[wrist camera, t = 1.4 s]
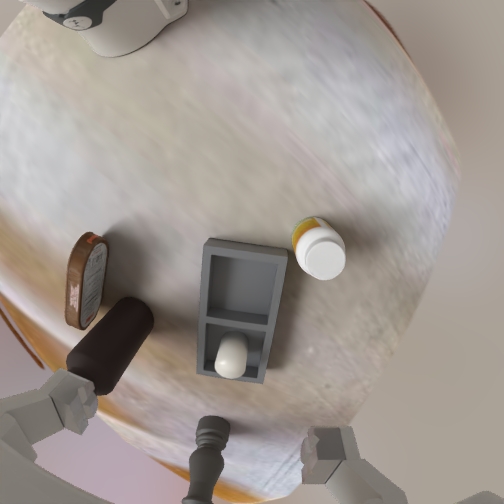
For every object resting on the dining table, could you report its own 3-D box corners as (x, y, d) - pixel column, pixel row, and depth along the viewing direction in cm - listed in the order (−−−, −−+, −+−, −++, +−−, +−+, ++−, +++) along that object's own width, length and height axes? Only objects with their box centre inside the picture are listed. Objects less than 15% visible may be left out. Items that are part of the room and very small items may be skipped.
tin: (99, 225, 37) (65, 240, 29) (116, 232, 38) (84, 249, 29) (88, 308, 42) (61, 333, 34) (103, 316, 42) (77, 342, 34)
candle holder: (208, 411, 47) (180, 527, 23) (236, 424, 47) (220, 538, 23) (193, 425, 48) (165, 530, 24) (220, 437, 49) (201, 541, 25)
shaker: (222, 328, 40) (215, 353, 34) (250, 332, 40) (247, 358, 34) (220, 350, 41) (213, 376, 35) (246, 354, 41) (243, 380, 35)
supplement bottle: (286, 253, 37) (292, 282, 28) (295, 212, 35) (305, 229, 26) (326, 260, 37) (344, 291, 28) (336, 221, 35) (359, 240, 26)
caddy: (209, 238, 37) (203, 245, 34) (286, 248, 37) (288, 257, 33) (201, 359, 43) (196, 373, 39) (263, 369, 43) (263, 383, 39)
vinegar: (127, 287, 40) (49, 366, 21) (162, 315, 41) (102, 409, 22) (110, 315, 42) (40, 392, 22) (142, 341, 43) (86, 429, 24)
